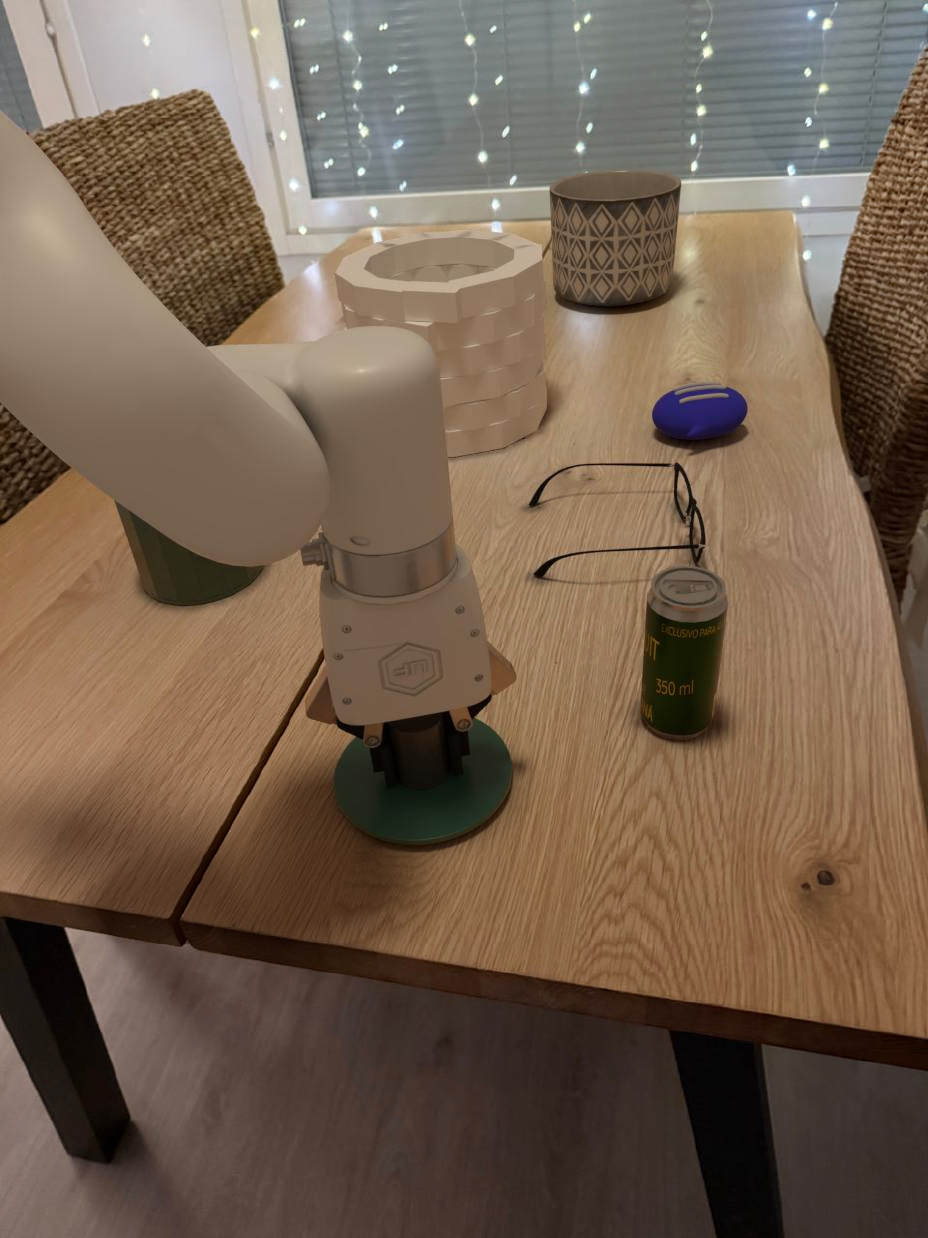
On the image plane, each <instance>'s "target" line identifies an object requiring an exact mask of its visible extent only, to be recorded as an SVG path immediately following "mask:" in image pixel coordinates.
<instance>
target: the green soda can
mask: <svg viewBox="0 0 928 1238" xmlns="http://www.w3.org/2000/svg"><path fill="white" fill-rule="evenodd" d="M645 606H646V607H645V622H644V639H643V655H642V672H641V687H640V688H641V689H640V705H639V707H640V711H639V713H640V715H641V717H642V719H643V721H644V723H645V725H646V727H647V728H649V730H650V731H651V732H653V733H654V734H656V735H657V736H659V737H662V738H664V739H667V740H674V741H675V740H676V741H685V740H686V741H687V740H692V739H694V738H696V737H699V736H700V735H702V734H703V733H704V732H705V731H706V730H707V729H708V728H709V727H710V725H712V722H713V721H714V717H715V710H716V703H717V695H718V688H719V679H720V672H721V663H722V656H723V647H724V641H725V640H724V639H725V631H726V623H727V615H728V607H729V599H728V595H727V586H726V583H725V582H724V580H723V579H722V577H720V576H719V575H718V574H716V573H715V572H714V571H712V570H709V569H707V568H704V567H699V566H694V565H679V566H671V567H668V568H665V569H662V570H661V571H659V572H658V573H656V574H655V575H654V576H653V578H652V579H651V581H650V588H649V589H648V591H647V593H646V605H645Z"/></svg>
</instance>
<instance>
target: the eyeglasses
mask: <svg viewBox="0 0 928 1238" xmlns="http://www.w3.org/2000/svg"><path fill="white" fill-rule="evenodd" d="M587 466H588V467H589V466H590V467H591V466H616V467H617V466H618V467H619V466H622V467H628V466H629V467H654V468H655V467H657V468H673V471H674V475H673V477H674V478H673V479H674V480H673V499H674V502H675V507H676V509H677V512H678V514H679V516H680V518H681V519H682V520H686V521H685V525H686V526H689V531H688V532H689V533H688V539H689V544H681V545H680V544H678V545H664V546H663V545H662V546H661V545H660V546H645V547H630V548H628V547H627V548H616V549H615V548H611V549H597V550H586V551H585V550H584V551H577V552H570V553H566V554H563V555H558V556H555V557H551V558H550V559H548V560H546V561H545V562H543V563H542V564H541V565H540V566H539V567H538V568H537V569H536V570H535V572H533V576H535V577H538V578H543V577H545V575H546V574H547V573H548V571H549V569H551V568H552V566H553V565H555V563H557V562H558V561H560V560H562V559H566V558H570V557H573V556H579V555H585V554H595V553H596V554H597V553H609V552H610V553H611V552H614V553H615V552H636V551H661V550H662V551H664V550H687V549H688V550H689V549H690V552H691V555H692V558H693V561H694V563H699V562H700V560H701V557H702V555H703V551H704V549H706V547H707V544H706V543H707V538H706V530H705V529H706V528H705V524H704V523H705V522H704V520H703V516H702V512H701V511H700V508H699V507H698V505H697V504H698V501H697V500H696V498H695V497H694V496H693V491H692V487H691V484H690V480H689V477H688V475H687V473H686V471H685V469H684V467H683V466H682V465H681V464H680V463H679V462H677V461H676V462H674V463H672V462H671V463H669V462H668V463H665V462H661V463H660V462H653V463H652V462H650V463H649V462H648V463H647V462H611V463H609V462H607V463H606V462H598V463H597V462H596V463H578V464H574V465H570V466H567V467H563V468H561V469H559V470H557V471H555V472H553V474H551V475H550V476H548V477H547V478H545V479H544V480H543V482H542V483H541V484H540V485H539V486H538V488H537V489H536V490H535V492H534V494H533V495H532V497H531V499H530V501H529V503H528V506H529V507H533V506H536V505H537V504H538V503H539V502H540V498H541V496H542V494H543V492H544V490H545V488H546V486H547V485H548V484H549V482H550V481H551V480H552V479H554V478H555V477H556V476H557V475H559V474H561V473H563V472H565V471H568V470H570V469H574V468H577V467H587ZM680 473H681V475H682V477H683V480H684V483H685V486H686V489H687V494H688V502H687V506H686V507H685V508H684V509H683V511H682V509H681V506H680V502H679V499H678V482H679V475H680ZM695 514H696V516H697V519H698V524H699V529H700V541H699V543H696V544H695V543H694V521H695ZM689 515H690V516H689ZM688 518H689V519H688ZM695 549H698V550H697V554H696V550H695Z"/></svg>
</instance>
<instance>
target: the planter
mask: <svg viewBox="0 0 928 1238" xmlns="http://www.w3.org/2000/svg"><path fill="white" fill-rule="evenodd" d="M681 192H682V180H681V179H680V178H679V176H677V175H675V174H672V173H669V172H665V171H659V170H650V169H637V168H636V169H635V168H634V169H633V168H631V169H630V168H629V169H628V168H626V169H625V168H623V169H621V168H620V169H604V170H594V171H588V172H582V173H577V174H572V175H569V176H565V177H563V178H560V179H558V180H556V181H554V182H553V183H551V184H550V186H549V211H550V235H551V259H552V260H551V262H552V285H553V286H552V287H553V290H554V292H555V293H556V294H557V295H558V296H559V297H561V298H562V299H565V300H568V301H570V302H573V303H577V304H582V305H590V306H595V307H605V308H614V307H625V306H630V305H634V304H639V303H643V302H644V303H645V302H647V301H651V300H654V299H657V298H658V297H661V296H663V295H664V294H666V293H667V292H668V291H669V290H670V289H671V288H672V285H673V281H674V267H675V257H676V245H677V236H678V227H679V226H678V224H679V215H680V214H679V213H680V202H681Z"/></svg>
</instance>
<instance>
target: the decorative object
mask: <svg viewBox="0 0 928 1238" xmlns="http://www.w3.org/2000/svg"><path fill="white" fill-rule="evenodd" d="M748 410H749V409H748V402H747V400H746V399H745V397H744V396H743V395H742V394H741V393H740V392H739V391H737V390H735V389H733V388H732V387H729V386H726V385H724V384H723V385H722V383H721V382H720V381H711V380H707V381H696V382H689V383H683V384H681V385H677V386H674V387H673V388H672V390H670V391H668V392H666V393H664V394H663V395H662V396H660V397H659V399H658V400H657V401H656V402H655V404H654V405H653V408H652V410H651V411H652V412H651V419H652V422H653V424H654V426H655V427H656V429H657V430H659V432H661V433H662V434H665V435H666V436H668V437H671V438H675V439H679V440H685V441H687V440H688V441H693V440H694V441H697V440H707V439H712V438H718V437H721V436H725V435H727V434H729V433H732V432H733V431H735V430H736V429H737V428H739V427H740V426H741V425H742V423H743V422H744V421H745V419H746V417H747V415H748Z"/></svg>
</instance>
